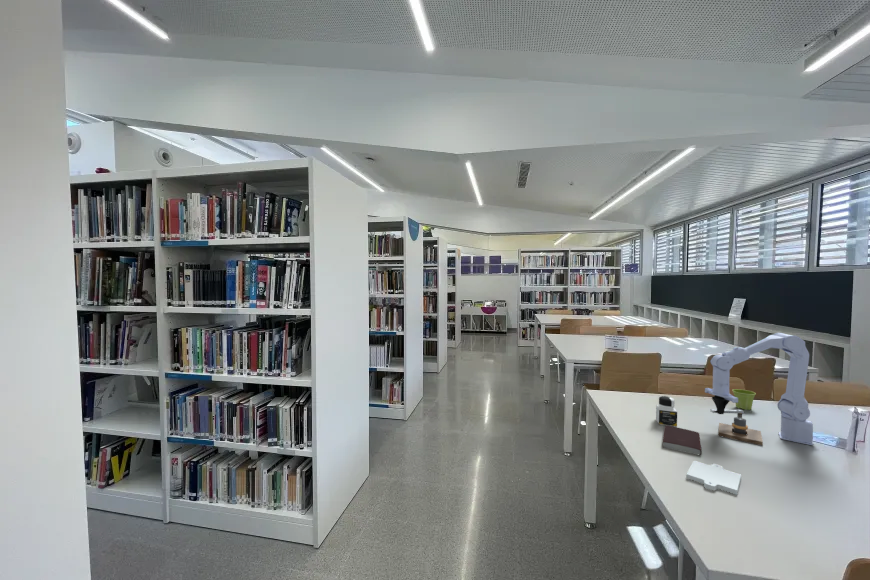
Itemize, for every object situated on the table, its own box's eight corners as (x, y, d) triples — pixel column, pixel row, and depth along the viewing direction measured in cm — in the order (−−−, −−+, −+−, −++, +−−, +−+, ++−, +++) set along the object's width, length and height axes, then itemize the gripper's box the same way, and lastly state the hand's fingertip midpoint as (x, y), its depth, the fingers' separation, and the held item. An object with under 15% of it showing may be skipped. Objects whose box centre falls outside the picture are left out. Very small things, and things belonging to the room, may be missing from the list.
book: (699, 439, 150) (699, 431, 150) (701, 457, 135) (701, 448, 135) (664, 432, 158) (664, 424, 158) (662, 448, 142) (662, 440, 142)
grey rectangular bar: (740, 412, 159) (740, 409, 159) (744, 414, 157) (744, 411, 157) (709, 411, 160) (709, 408, 160) (713, 413, 157) (713, 410, 157)
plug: (747, 435, 154) (747, 418, 154) (747, 438, 150) (748, 422, 150) (731, 431, 157) (732, 415, 157) (731, 435, 153) (732, 419, 153)
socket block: (760, 434, 154) (761, 417, 154) (762, 445, 144) (763, 426, 144) (719, 425, 163) (719, 409, 163) (718, 435, 153) (718, 418, 153)
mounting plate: (694, 463, 130) (695, 458, 130) (741, 477, 121) (742, 471, 121) (684, 482, 117) (684, 476, 117) (736, 499, 108) (736, 493, 108)
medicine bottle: (658, 424, 164) (659, 398, 164) (655, 419, 171) (656, 394, 171) (677, 427, 162) (677, 400, 161) (673, 421, 168) (673, 396, 168)
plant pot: (727, 404, 193) (727, 388, 193) (747, 405, 192) (747, 389, 191) (739, 410, 184) (740, 393, 183) (760, 411, 182) (760, 394, 182)
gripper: (698, 378, 164) (698, 408, 164) (727, 387, 149) (726, 420, 149) (713, 378, 164) (712, 407, 165) (743, 387, 150) (742, 419, 150)
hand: (720, 413), depth 157 cm, fingers closed, pressing on grey rectangular bar
